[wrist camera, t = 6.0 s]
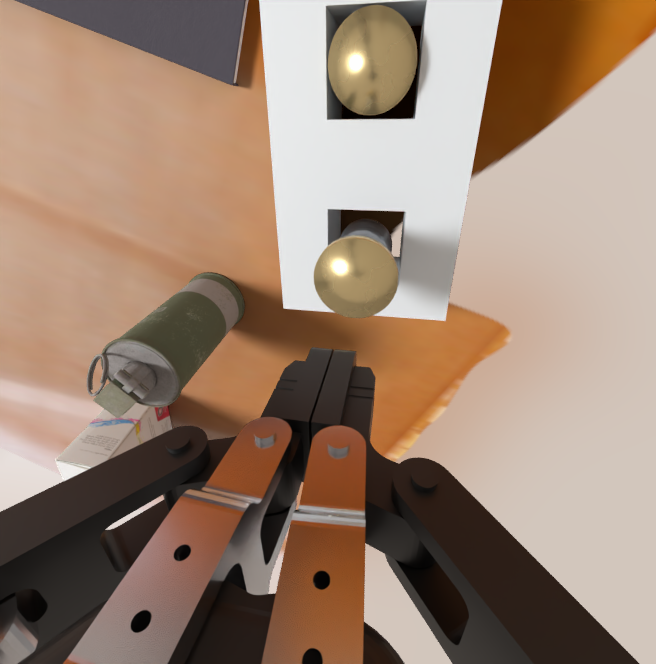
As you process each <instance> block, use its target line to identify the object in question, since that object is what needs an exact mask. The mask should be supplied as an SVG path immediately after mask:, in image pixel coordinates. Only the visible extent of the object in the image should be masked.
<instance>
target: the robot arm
mask: <svg viewBox="0 0 656 664" xmlns="http://www.w3.org/2000/svg"><path fill="white" fill-rule="evenodd" d="M374 392H375V376H374V374H373V372H372V370H371V368H369V367H358V366H356V351H347V350H336V349H335V350H333V349H324V348H313V347H312V348H311V350H310V352H309V355H308V357H307V359H306V361H296V360H295V361H294V362H293V363H291V364H290V365H289V366H288V367H286V368H285V369H284V371H283V373H282V375H281V377H280V381H278V383H277V385H276V389H274V391H273V393H272V395H271V397H270V399H269V401H268V403H267V405H266V407H265V409H264V411H263V413H262V415H261V417H260V418H258V419H255V420H253V421H251V422H249V423H248V424H246V425H245V426H244V427H243V429H242V430H241V431H240V433H239V434H238V436H235V437H231V438H224V439H216V440H208V439H207V435H206V433H205V432H204V431H203V430H202V429H200V428H198V427H194V426H182V427H177V428H174V429H171V430H169V431H167V432H165V433H163V434H161V435H159V436H157V437H155V438H152V439H150V440H148V441H146V442H144V443H142V444H140V445H138V446H136V447H134V448H132V449H130V450H128V451H126V452H123V453H121V454H119V455H117V456H115V457H113V458H111V459H109V460H107V461H105V462H103V463H101V464H99V465H97V466H94V467H92V468H90V469H88V470H86V471H84V472H82V473H80V474H78V475H76V476H74V477H72V478H70V479H68V480H66V481H63V482H62V483H59V484H57V485H55V486H53V487H51V488H49V489H47V490H45V491H43V492H41V493H39V494H37V495H34V496H32V497H30V498H28V499H26V500H24V501H22V502H20V503H18V504H16V505H14V506H12V507H10V508H8V509H6V510H3V511H1V512H0V664H404V663H403V661H402V659H401V658H400V656H399V655H398V653H397V652H396V651H395V650H394V649H393V647H392V646H391V645H390V644H389V643H388V641H387V640H385V639H384V638H383V637H382V636H381V635H380V634H379V633H378V632H377V631H376V630H375V629H373V628H372V627H371V626H369V625H368V624H366V623H365V622H364V578H365V543H366V544H369V545H370V546H372V547H374V548H376V549H377V550H379V551H381V552H383V553H385V556H386V559H387V562H388V563H389V565H390V567H391V568H392V570H393V572H394V573H395V575H396V576H397V578H398V579H399V581H400V582H401V584H402V586H403V587H404V589H405V590H406V592H407V593H408V595H409V596H410V598H411V600H412V601H413V603H414V604H415V606H416V607H417V609H418V611H419V612H420V614H421V615H422V617H423V618H424V620H425V621H426V623H427V625H428V626H429V627H430V629H431V631H432V632H433V634H434V635H435V637H436V639H437V640H438V642H439V643H440V645H441V646H442V648H443V649H444V651H445V653H446V654H447V656H448V657H449V659H450V660H451V662H452V663H453V664H639V663H638V662H637V661H636V660H635V659H634V658H633V657H632V656H631V655H630V654H629V653H628V652H627V651H626V650H625V649H624V648H623V647H622V646H621V645H620V644H619V643H618V642H617V641H616V640H615V639H614V638H613V637H612V636H611V635H610V634H609V633H608V632H607V631H606V630H605V629H604V628H603V627H602V625H600V623H599V622H597V621H596V619H594V618H593V616H592V615H591V614H590V613H588V611H587V610H586V609H585V608H584V607H583V606H582V605H581V604H580V603H579V602H578V601H577V600H576V599H575V598H574V597H573V596H572V595H571V594H570V593H569V592H568V591H567V590H566V589H565V588H564V587H563V586H562V585H561V584H560V583H559V582H558V581H557V580H556V579H555V578H554V577H553V576H552V575H550V573H549V572H548V571H547V570H546V569H545V568H544V567H543V566H542V565H541V564H540V563H539V562H538V561H537V560H536V559H535V558H534V557H533V556H532V555H531V554H530V553H529V552H528V551H527V550H526V549H525V548H524V547H523V546H522V545H521V544H520V543H519V542H518V541H517V540H516V539H515V538H514V537H513V536H512V535H511V534H510V533H509V532H508V531H507V530H506V529H505V528H504V527H503V526H502V525H501V524H500V523H499V522H498V521H497V520H496V519H495V518H494V517H493V516H492V515H491V514H490V513H489V512H488V511H487V510H486V509H485V508H484V507H483V506H482V505H481V504H480V503H479V502H478V501H477V500H476V499H475V498H474V497H473V496H472V495H471V494H470V493H469V492H468V491H467V490H466V489H465V488H464V487H463V486H462V485H461V483H459V482H458V480H457V479H455V477H454V476H452V474H451V473H449V471H448V470H446V469H445V468H444V467H443V466H442V465H440V464H439V463H436V462H435V461H432V460H429V459H425V458H410V459H407V460H404V461H403V462H401V463H400V464H398V463H396V462H393V461H391V460H389V459H387V458H385V457H383V456H382V455H380V454H379V453H378V452H377V451H376V450H375V449H374V448H373V446H372V445H371V443H370V435H371V427H372V418H373V406H374ZM301 482H304V484H303V490H302V495H301V500H300V505H299V508H298V510H295V509H296V506H297V495H298V492H299V488H300V485H301ZM161 495H163V496H164V500H163V501H161V502H159V503H157V504H156V505H154V506H152V507H151V508H149V509H147V510H146V511H144V512H142V513H140V514H139V515H137V516H135V517H134V518H132V519H130V520H129V521H127V522H125V523H124V524H122V525H120V526H118V527H116V528H114V529H111V530H105V529H106V528H108V527H109V526H110V525H111V524H113V523H114V522H116V521H118V520H119V519H121V518H123V517H125V516H126V515H128V514H130V513H132V512H133V511H135V510H137V509H139V508H140V507H142V506H144V505H145V504H147V503H149V502H151V501H152V500H154V499H156V498H158V497H159V496H161ZM290 523H291V524H290ZM289 525H290V529H289V533H288V538H287V543H286V548H285V553H284V557H283V562H282V568H281V572H280V577H279V581H278V586H277V591H276V593H275V594H268V592H269V584H270V579H271V574H272V571H273V568H274V565H275V563H276V560H277V558H278V555H279V552H280V549H281V547H282V544H283V541H284V539H285V536H286V533H287V531H288V528H289Z"/></svg>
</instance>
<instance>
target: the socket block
mask: <svg viewBox="0 0 656 664" xmlns="http://www.w3.org/2000/svg"><path fill="white" fill-rule="evenodd" d="M259 4H260V17H261V30H262V42H263V55H264V68H265V80H266V93H267V106H268V118H269V131H270V144H271V156H272V169H273V182H274V194H275V207H276V220H277V232H278V245H279V258H280V270H281V283H282V296H283V308H284V309H296V310H309V311H322V312H334V311H332V310H331V309H329V308H328V307H327V306H326V305H325V304H324V303H323V302H322V300H321V299H320V298H319V296H318V294H317V292H316V289H315V285H314V269H315V265H316V263H317V261H318V258H319V257H320V255H321V254H322V252H323V251H324V249H325V248H326V247H327V246H328V245H330V244H331V243H332V242H334V241H335V240H337V239H339V238H340V237H341V210H373V211H404V217H403V227H402V237H401V248H400V257H394V259H395V261H396V264H397V267H398V287H397V291H396V294H395V296H394V298H393V299H392V301H391V302H390V304H389V305H388V306H387V307H386V308H385V309H383V310H382V311H380V312H379V313H377V314H375V315H376V316H389V317H402V318H415V319H429V320H442V321H445V319H446V314H447V308H448V302H449V297H450V291H451V286H452V280H453V274H454V269H455V263H456V257H457V251H458V246H459V241H460V235H461V229H462V224H463V218H464V213H465V207H466V201H467V196H468V190H469V185H470V179H471V173H472V168H473V162H474V156H475V151H476V145H477V140H478V134H479V128H480V123H481V117H482V112H483V106H484V100H485V95H486V89H487V84H488V78H489V72H490V67H491V61H492V56H493V50H494V44H495V39H496V33H497V27H498V22H499V16H500V11H501V5H502V0H259ZM370 5H382V6H387V7H389V8H392V9H394V10H395V11H397V12H398V13H399V14H401V15H402V16H403V17H404V18H405V20H406V21H407V22H408V24H409V25H410V26H422V28H421V39H420V49H419V60H418V70H417V81H416V91H415V101H414V112H413V118H385V119H342V102H341V101H340V100H339V99H338V97H337V96H336V94H335V92H334V90H333V88H332V86H331V82H330V79H329V73H328V56H329V50H330V46H331V43H332V40H333V37H334V35H335V33H336V31H337V30H338V28H339V27H340V25H341V24H342V23H343V21H344V20H345V19H346V18H347V17H348V16H349V15H350V14H352V13H353V12H355V11H356V10H358V9H360V8H363V7H366V6H370Z"/></svg>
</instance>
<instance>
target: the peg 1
mask: <svg viewBox="0 0 656 664" xmlns="http://www.w3.org/2000/svg"><path fill="white" fill-rule="evenodd" d="M416 66H417V45H416V40H415V37H414V34H413V31H412V29H411V27H410V25H409V24H408V22H407V21H406V20H405V18H404V17H403V16H402V15H401V14H399V13H398V12H397V11H395V10H394V9H392V8H389V7H387V6H382V5H370V6H366V7H363V8H360V9H358V10H356V11H355V12H353V13H352V14H350V15H349V16H348V17H347V18H346V19H345V20H344V21H343V23H342V24H341V25H340V27H339V28H338V30H337V31H336V33H335V35H334V37H333V40H332V43H331V46H330V50H329V56H328V73H329V79H330V82H331V86H332V88H333V90H334V92H335V94H336V96H337V97H338V99H339V100H340V101H341V102H342V104H343V105H344V106H346V107H347V108H348V109H350V110H351V111H353V112H356V113H358V114H362V115H377V114H381V113H384V112H386V111H388V110H390V109H392V108H393V107H394V106H396V105H397V104H398V103H399V102H400V101H401V100H402V99H403V97H404V96H405V95H406V93H407V92H408V90H409V88H410V86H411V84H412V81H413V79H414V75H415V72H416Z"/></svg>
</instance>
